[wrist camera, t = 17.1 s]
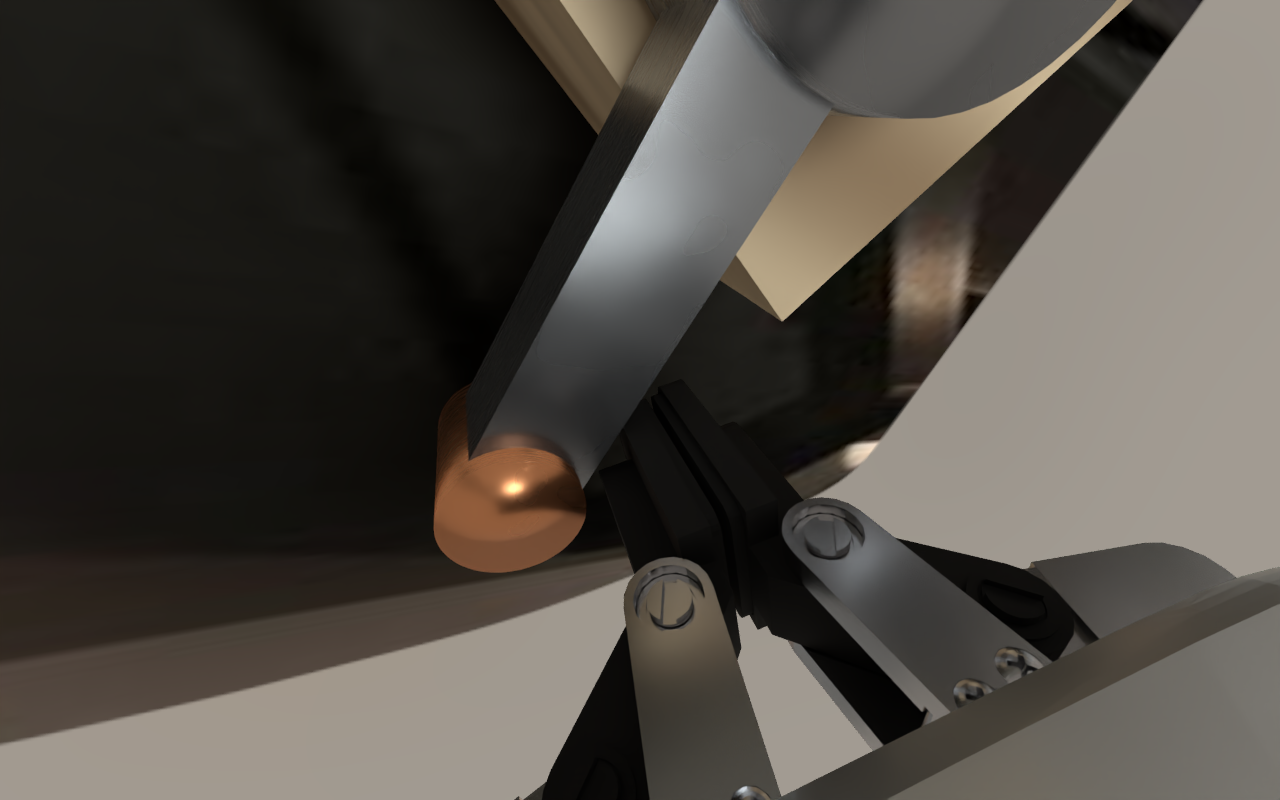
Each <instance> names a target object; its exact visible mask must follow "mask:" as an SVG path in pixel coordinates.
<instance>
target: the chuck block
mask: <svg viewBox="0 0 1280 800" xmlns="http://www.w3.org/2000/svg"><path fill="white" fill-rule="evenodd" d="M1131 1H1132V0H1116V2H1115V3H1114V4H1113V5H1112V6H1111V8H1110V9H1109V10H1108V11H1107V12H1106V13H1105V14H1104V15H1103V16H1102V17H1101V18H1100V19H1099V20H1098V21H1097V22H1096V23H1095V24H1094V25H1093V26H1092V27H1091V28H1090V29H1089V30H1088V31H1087V32H1086V33H1085V34H1084V35H1083V36H1082V37H1081V38H1080V39H1079V40H1078V41H1077V42H1076V43H1075V44H1073V45H1072V46H1071V47H1070V48H1069V49H1068V50H1067V51H1065V52H1064V53H1063V54H1062V55H1061V56H1060V57H1058V58H1057V59H1056V60H1055V61H1054V62H1053V63H1052V64H1050V65H1049V66H1048V67H1046V68H1045V69H1043V70H1042V71H1040V72H1039V73H1038V74H1036V75H1035V76H1033V77H1032V78H1031V79H1029V80H1028V81H1026V82H1025V83H1023V84H1022V85H1021V86H1019V87H1017V88H1015V89H1013V90H1011V91H1010V92H1008V93H1006V94H1004V95H1002V96H1000V97H999V98H997V99H995V100H993V101H991V102H988V103H986V104H983V105H981V106H978V107H975V108H973V109H970V110H967V111H965V112H962V113H957V114H952V115H947V116H942V117H937V118H917V119H899V118H872V117H844V116H826V118H825V119H824V121H823V122H822V124H821V125H820V127H819V129H818V130H817V132H816V133H815V135H814V136H813V138H812V139H811V141H810V142H809V144H808V145H807V147H806V148H805V150H804V151H803V153H802V155H801V156H800V158H799V159H798V161H797V162H796V164H795V165H794V167H793V168H792V170H791V171H790V173H789V174H788V176H787V177H786V179H785V180H784V182H783V184H782V185H781V187H780V188H779V190H778V191H777V193H776V194H775V196H774V197H773V199H772V200H771V202H770V203H769V205H768V206H767V208H766V210H765V211H764V213H763V214H762V216H761V217H760V219H759V220H758V222H757V223H756V225H755V226H754V228H753V229H752V231H751V232H750V234H749V236H748V237H747V239H746V240H745V242H744V243H743V245H742V246H741V248H740V249H739V251H738V252H737V254H736V255H735V257H734V258H733V260H732V262H731V263H730V265H729V266H728V268H727V269H726V271H725V272H724V274H723V275H722V277H721V278H720V280H721V281H722V282H724V283H725V284H727V285H728V286H730V287H731V288H733V289H734V290H736V291H737V292H739V293H740V294H742V295H743V296H745V297H746V298H748V299H749V300H751V301H752V302H754V303H755V304H757V305H758V306H760V307H761V308H763V309H764V310H766V311H767V312H769V313H770V314H772V315H773V316H775V317H776V318H778V319H779V320H781V321H783V320H784V319H785V318H787V317H788V316H789V315H790V314H791V313H792V312H793V311H794V310H795V309H796V308H797V307H799V306H800V305H801V304H802V303H803V302H804V301H805V300H806V299H807V298H808V297H809V296H811V295H812V294H813V293H814V292H815V291H816V290H817V289H818V288H819V287H820V286H821V285H823V284H824V283H825V282H826V281H827V280H828V279H829V278H830V277H831V276H832V275H833V274H835V273H836V272H837V271H838V270H839V269H840V268H841V267H842V266H843V265H844V264H845V263H847V262H848V261H849V260H850V259H851V258H852V257H853V256H854V255H855V254H856V253H857V252H859V251H860V250H861V249H862V248H863V247H864V246H865V245H866V244H867V243H868V242H869V241H871V240H872V239H873V238H874V237H875V236H876V235H877V234H878V233H879V232H880V231H881V230H883V229H884V228H885V227H886V226H887V225H888V224H889V223H890V222H891V221H892V220H893V219H895V218H896V217H897V216H898V215H899V214H900V213H901V212H902V211H903V210H904V209H905V208H907V207H908V206H909V205H910V204H911V203H912V202H913V201H914V200H915V199H916V198H917V197H919V196H920V195H921V194H922V193H923V192H924V191H925V190H926V189H927V188H928V187H929V186H931V185H932V184H933V183H934V182H935V181H936V180H937V179H938V178H939V177H940V176H941V175H943V174H944V173H945V172H946V171H947V170H948V169H949V168H950V167H951V166H952V165H953V164H955V163H956V162H957V161H958V160H959V159H960V158H961V157H962V156H963V155H964V154H965V153H967V152H968V151H969V150H970V149H971V148H972V147H973V146H974V145H975V144H976V143H977V142H979V141H980V140H981V139H982V138H983V137H984V136H985V135H986V134H987V133H988V132H989V131H991V130H992V129H993V128H994V127H995V126H996V125H997V124H998V123H999V122H1000V121H1001V120H1003V119H1004V118H1005V117H1006V116H1007V115H1008V114H1009V113H1010V112H1011V111H1012V110H1013V109H1015V108H1016V107H1017V106H1018V105H1019V104H1020V103H1021V102H1022V101H1023V100H1024V99H1025V98H1027V97H1028V96H1029V95H1030V94H1031V93H1032V92H1033V91H1034V90H1035V89H1036V88H1037V87H1039V86H1040V85H1041V84H1042V83H1043V82H1044V81H1045V80H1046V79H1047V78H1048V77H1049V76H1051V75H1052V74H1053V73H1054V72H1055V71H1056V70H1057V69H1058V68H1059V67H1060V66H1061V65H1063V64H1064V63H1065V62H1066V61H1067V60H1068V59H1069V58H1070V57H1071V56H1072V55H1073V54H1075V53H1076V52H1077V51H1078V50H1079V49H1080V48H1081V47H1082V46H1083V45H1084V44H1085V43H1087V42H1088V41H1089V40H1090V39H1091V38H1092V37H1093V36H1094V35H1095V34H1096V33H1097V32H1099V31H1100V30H1101V29H1102V28H1103V27H1104V26H1105V25H1106V24H1107V23H1108V22H1109V21H1111V20H1112V19H1113V18H1114V17H1115V16H1116V15H1117V14H1118V13H1119V12H1120V11H1121V10H1123V9H1124V8H1125V7H1126V6H1127V5H1128V4H1129V3H1130V2H1131ZM495 2H496V3H497V4H498V6H499V7H500V8H501V9H502V11H503V12H504V13H505V15H506V16H507V17H508V18H509V20H510V21H511V22H512V24H513V25H514V26H515V28H516V29H517V30H518V31H519V33H520V34H521V35H522V37H523V38H524V39H525V41H526V42H527V43H528V44H529V46H530V47H531V48H532V50H533V51H534V52H535V53H536V55H537V56H538V57H539V59H540V60H541V61H542V63H543V64H544V65H545V66H546V68H547V69H548V70H549V72H550V73H551V74H552V75H553V77H554V78H555V79H556V81H557V82H558V83H559V85H560V86H561V87H562V88H563V90H564V91H565V92H566V94H567V95H568V96H569V98H570V99H571V100H572V101H573V103H574V104H575V105H576V107H577V108H578V109H579V110H580V112H581V113H582V114H583V116H584V117H585V118H586V120H587V121H588V122H589V123H590V125H591V126H592V127H593V129H594V130H595V131H596V133H597V134H598V135H599V133H600V131H601V129H602V127H603V125H604V123H605V122H606V120H607V118H608V116H609V114H610V112H611V110H612V108H613V106H614V104H615V102H616V100H617V98H618V96H619V94H620V92H621V90H622V88H623V86H624V84H625V82H626V80H627V79H628V77H629V75H630V73H631V71H632V69H633V67H634V65H635V63H636V61H637V59H638V57H639V55H640V53H641V51H642V49H643V47H644V45H645V43H646V41H647V39H648V37H649V35H650V34H651V32H652V30H653V28H654V26H655V24H656V22H657V21H656V20H655V18H654V16H653V15H652V13H651V11H650V9H649V7H648V5H647V3H646V2H645V0H495Z"/></svg>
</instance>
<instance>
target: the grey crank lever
mask: <svg viewBox="0 0 1280 800" xmlns="http://www.w3.org/2000/svg"><path fill="white" fill-rule="evenodd" d="M645 2H646V3H647V5H648V7H649V9H650V11H651V13H652V15H653V16H654V18H655V20H656V21H657V22H656V24H655V26H654V28H653V30H652V32H651V34H650V35H649V37H648V39H647V41H646V43H645V45H644V47H643V49H642V51H641V53H640V55H639V57H638V59H637V61H636V63H635V65H634V67H633V69H632V71H631V73H630V75H629V77H628V79H627V80H626V82H625V84H624V86H623V88H622V90H621V92H620V94H619V96H618V98H617V100H616V102H615V104H614V106H613V108H612V110H611V112H610V114H609V116H608V118H607V120H606V122H605V123H604V125H603V127H602V129H601V131H600V133H599V135H598V137H597V139H596V141H595V143H594V145H593V147H592V149H591V151H590V153H589V155H588V157H587V159H586V161H585V163H584V165H583V167H582V168H581V170H580V172H579V174H578V176H577V178H576V180H575V182H574V184H573V186H572V188H571V190H570V192H569V194H568V196H567V198H566V200H565V202H564V204H563V206H562V208H561V210H560V211H559V213H558V215H557V217H556V219H555V221H554V223H553V225H552V227H551V229H550V231H549V233H548V235H547V237H546V239H545V241H544V243H543V245H542V247H541V249H540V251H539V253H538V255H537V256H536V258H535V260H534V262H533V264H532V266H531V268H530V270H529V272H528V274H527V276H526V278H525V280H524V282H523V284H522V286H521V288H520V290H519V292H518V294H517V296H516V298H515V299H514V301H513V303H512V305H511V307H510V309H509V311H508V313H507V315H506V317H505V319H504V321H503V323H502V325H501V327H500V329H499V331H498V333H497V335H496V337H495V339H494V341H493V343H492V344H491V346H490V348H489V350H488V352H487V354H486V356H485V358H484V360H483V362H482V364H481V366H480V368H479V370H478V372H477V374H476V376H475V378H474V380H473V382H471V383H469V384H467V385H466V386H464V387H462V388H461V389H459V390H458V391H457V392H456V393H455V394H453V395H452V396H451V397H450V399H449V400H448V401H447V402H446V404H445V406H444V407H443V409H442V411H441V414H440V417H439V422H438V442H437V465H436V487H435V510H434V535H435V539H436V542H437V544H438V546H439V547H440V549H441V550H442V552H443V553H444V554H445V555H446V556H447V557H448V558H450V559H451V560H452V561H454V562H456V563H457V564H459V565H461V566H464V567H466V568H469V569H472V570H476V571H482V572H492V573H495V572H511V571H516V570H521V569H525V568H529V567H532V566H534V565H537V564H539V563H542V562H544V561H546V560H548V559H549V558H551V557H553V556H555V555H556V554H557V553H559V552H560V551H562V550H563V549H564V548H565V547H566V546H567V545H568V544H569V543H570V542H571V541H572V540H573V539H574V538H575V536H576V535H577V534H578V532H579V531H580V529H581V527H582V525H583V522H584V520H585V516H586V508H587V506H586V499H585V495H584V492H583V488H584V486H585V485H586V483H587V482H588V480H589V479H590V477H591V476H592V474H593V472H594V471H595V469H596V468H597V466H598V465H599V463H600V462H601V460H602V459H603V457H604V456H605V454H606V453H607V451H608V450H609V448H610V446H611V445H612V443H613V442H614V440H615V439H616V437H617V436H618V434H619V433H620V431H621V430H622V428H623V427H624V425H625V424H626V422H627V420H628V419H629V417H630V416H631V414H632V413H633V411H634V410H635V408H636V407H637V405H638V404H639V402H640V401H641V399H642V398H643V396H644V394H645V393H646V391H647V390H648V388H649V387H650V385H651V384H652V382H653V381H654V379H655V378H656V376H657V375H658V373H659V372H660V370H661V369H662V367H663V365H664V364H665V362H666V361H667V359H668V358H669V356H670V355H671V353H672V352H673V350H674V349H675V347H676V346H677V344H678V343H679V341H680V339H681V338H682V336H683V335H684V333H685V332H686V330H687V329H688V327H689V326H690V324H691V323H692V321H693V320H694V318H695V317H696V315H697V313H698V312H699V310H700V309H701V307H702V306H703V304H704V303H705V301H706V300H707V298H708V297H709V295H710V294H711V292H712V291H713V289H714V287H715V286H716V284H717V283H718V281H719V280H720V278H721V277H722V275H723V274H724V272H725V271H726V269H727V268H728V266H729V265H730V263H731V262H732V260H733V258H734V257H735V255H736V254H737V252H738V251H739V249H740V248H741V246H742V245H743V243H744V242H745V240H746V239H747V237H748V236H749V234H750V232H751V231H752V229H753V228H754V226H755V225H756V223H757V222H758V220H759V219H760V217H761V216H762V214H763V213H764V211H765V210H766V208H767V206H768V205H769V203H770V202H771V200H772V199H773V197H774V196H775V194H776V193H777V191H778V190H779V188H780V187H781V185H782V184H783V182H784V180H785V179H786V177H787V176H788V174H789V173H790V171H791V170H792V168H793V167H794V165H795V164H796V162H797V161H798V159H799V158H800V156H801V155H802V153H803V151H804V150H805V148H806V147H807V145H808V144H809V142H810V141H811V139H812V138H813V136H814V135H815V133H816V132H817V130H818V129H819V127H820V125H821V124H822V122H823V121H824V119H825V118H826V116H844V117H872V118H899V119H917V118H937V117H942V116H947V115H952V114H957V113H962V112H965V111H967V110H970V109H973V108H975V107H978V106H981V105H983V104H986V103H988V102H991V101H993V100H995V99H997V98H999V97H1000V96H1002V95H1004V94H1006V93H1008V92H1010V91H1011V90H1013V89H1015V88H1017V87H1019V86H1021V85H1022V84H1023V83H1025V82H1026V81H1028V80H1029V79H1031V78H1032V77H1033V76H1035V75H1036V74H1038V73H1039V72H1040V71H1042V70H1043V69H1045V68H1046V67H1048V66H1049V65H1050V64H1052V63H1053V62H1054V61H1055V60H1056V59H1057V58H1058V57H1060V56H1061V55H1062V54H1063V53H1064V52H1065V51H1067V50H1068V49H1069V48H1070V47H1071V46H1072V45H1073V44H1075V43H1076V42H1077V41H1078V40H1079V39H1080V38H1081V37H1082V36H1083V35H1084V34H1085V33H1086V32H1087V31H1088V30H1089V29H1090V28H1091V27H1092V26H1093V25H1094V24H1095V23H1096V22H1097V21H1098V20H1099V19H1100V18H1101V17H1102V16H1103V15H1104V14H1105V13H1106V12H1107V11H1108V10H1109V9H1110V8H1111V6H1112V5H1113V4H1114V3H1115V2H1116V0H645Z"/></svg>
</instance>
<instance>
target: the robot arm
mask: <svg viewBox="0 0 1280 800" xmlns="http://www.w3.org/2000/svg"><path fill="white" fill-rule="evenodd" d="M651 400H652V405H653V409H654V411H653V410H652V408H651V406H650V405H649V403H648V401H647V400H646V399H643V400H641V401H640V402H639V404H638V405H637V407H636V408H635V410H634V411H633V413H632V414H631V416H630V417H629V419H628V420H627V422H626V424H625V425H624V427H623V428H622V430H621V431H620V433H619V435H620V438H621V442H622V445H623V449H624V452H625V456H626V459H627V461H624V462H622V463H619V464H616V465H613V466H611V467H608V468H605V469H602V470H600V471H599V474H600V477H601V480H602V483H603V486H604V489H605V492H606V494H607V497H608V500H609V503H610V506H611V509H612V512H613V515H614V518H615V520H616V523H617V526H618V529H619V532H620V535H621V537H622V540H623V543H624V546H625V549H626V551H627V554H628V557H629V560H630V563H631V566H632V568H633V571H634V574H635V575H634V576H633V577H632V579H631V580H630V581H629V583H628V586H627V589H626V591H625V594H624V614H625V621H626V627H625V629H624V631H623V633H622V634H621V636H620V639H619V640H618V642H617V644H616V646H615V648H614V650H613V652H612V654H611V656H610V658H609V659H608V661H607V663H606V665H605V667H604V669H603V671H602V673H601V675H600V677H599V679H598V681H597V682H596V684H595V687H594V688H593V690H592V692H591V694H590V696H589V698H588V700H587V702H586V704H585V706H584V707H583V709H582V711H581V713H580V715H579V717H578V719H577V721H576V723H575V725H574V727H573V729H572V731H571V733H570V734H569V736H568V738H567V740H566V742H565V744H564V746H563V748H562V750H561V752H560V754H559V755H558V757H557V759H556V761H555V763H554V765H553V767H552V769H551V771H550V774H549V776H548V779H547V782H546V783H544V784H543V785H542V786H541V787H539V788H538V789H537V790H535V791H534V792H533V793H532V794H530V795H529V796H528V797H526V798H525V799H524V800H1280V567H1277V568H1272V569H1268V570H1264V571H1261V572H1257V573H1253V574H1250V575H1245V576H1242V577H1239V578H1236V577H1235V576H1233V575H1232V574H1231V573H1230V572H1229V571H1227V570H1226V569H1225V568H1223V567H1222V566H1220V565H1218V564H1217V563H1215V562H1214V561H1212V560H1210V559H1209V558H1207V557H1206V556H1203V555H1201V554H1199V553H1196V552H1194V551H1191V550H1189V549H1186V548H1184V547H1180V546H1175V545H1170V544H1166V543H1141V544H1135V545H1129V546H1124V547H1117V548H1112V549H1106V550H1100V551H1094V552H1088V553H1083V554H1077V555H1071V556H1064V557H1059V558H1053V559H1047V560H1041V561H1035V562H1031V564H1030V567H1029V568H1028V569H1020V568H1017V567H1014V566H1011V565H1008V564H1005V563H1000V562H996V561H992V560H987V559H983V558H979V557H975V556H970V555H966V554H962V553H957V552H953V551H949V550H945V549H940V548H936V547H932V546H927V545H923V544H919V543H914V542H910V541H906V540H902V539H898V538H895V537H893V536H892V535H891V534H890V533H888V532H887V531H886V530H884V529H883V528H882V527H880V526H879V525H878V524H877V523H876V522H874V521H873V520H872V519H870V518H869V517H868V516H867V515H865V514H864V513H863V512H861V511H860V510H859V509H857V508H855V507H854V506H852V505H850V504H849V503H846V502H843V501H840V500H837V499H831V498H813V499H807V500H805V501H804V500H803V499H802V498H801V497H800V495H799V494H798V493H797V492H796V491H795V490H794V488H793V487H792V486H791V485H790V484H789V483H788V482H787V480H786V479H785V478H784V477H783V476H782V475H781V473H780V472H779V471H778V470H777V469H776V468H775V466H774V465H773V464H772V463H771V462H770V461H769V459H768V458H767V457H766V456H765V455H764V454H763V452H762V451H761V450H760V449H759V448H758V447H757V445H756V444H755V443H754V442H753V441H752V440H751V439H750V437H749V436H748V435H747V434H746V433H745V432H744V430H743V429H742V428H741V427H740V426H739V425H738V424H737V423H735V422H731V423H728V424H725V425H723V426H719V425H718V424H717V423H716V421H715V420H714V419H713V418H712V416H711V415H710V414H709V413H708V411H707V410H706V409H705V407H704V406H703V405H702V404H701V402H700V401H699V400H698V399H697V397H696V396H695V395H694V394H693V392H692V391H691V390H690V389H689V387H688V386H687V385H686V384H685V382H684V381H683V380H678V381H675V382H672V383H669V384H666V385H663V386H660V387H658V394H657V395H654V396H652V397H651ZM735 608H736V609H735ZM736 610H737V612H738V614H739V615H740V616H741V617H742V618H743V617H745V616H747V615H750V617H751V618H752V620H753V622H754V624H755V626H756V627H757V629H761V628H763V627H765V626H768V628H769V630H770V631H771V633H772V634H773V635H775V636H778V637H781V638H784V639H786V640H788V642H789V644H790V645H791V647H792V649H793V651H794V652H795V653H796V655H797V656H798V657H799V658H800V660H801V661H802V662H803V663H804V665H805V666H806V667H807V669H808V670H809V671H810V672H811V674H812V675H813V676H814V677H815V678H816V680H817V681H818V682H819V684H820V685H821V686H822V687H823V689H824V690H825V691H826V692H827V694H828V695H829V696H830V697H831V699H832V700H833V701H834V702H835V704H836V705H837V706H838V707H839V709H840V710H841V711H842V713H843V714H844V715H845V716H846V718H847V719H848V720H849V721H850V722H851V724H852V725H853V726H854V728H855V729H856V730H857V731H858V733H859V734H860V735H861V736H862V738H863V739H864V740H865V741H866V743H867V744H868V745H869V746H870V748H871V749H872V750H873V751H872V752H870V753H868V754H866V755H864V756H862V757H860V758H858V759H856V760H854V761H852V762H850V763H848V764H846V765H844V766H842V767H840V768H838V769H836V770H834V771H832V772H830V773H828V774H826V775H824V776H823V777H820V778H818V779H816V780H814V781H812V782H810V783H808V784H806V785H804V786H802V787H800V788H799V789H796V790H795V791H792V792H790V793H788V794H786V795H784V796H782V797H781V794H780V791H779V788H778V785H777V782H776V779H775V775H774V772H773V769H772V767H771V763H770V760H769V757H768V754H767V751H766V748H765V745H764V742H763V738H762V735H761V732H760V729H759V726H758V723H757V720H756V717H755V714H754V711H753V708H752V705H751V702H750V698H749V695H748V692H747V689H746V686H745V683H744V680H743V677H742V674H741V670H740V667H739V664H738V661H737V660H738V656H739V653H740V650H741V643H740V636H739V630H738V623H737V616H736ZM515 800H522V799H521V798H520V797H517V798H516V799H515Z"/></svg>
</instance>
